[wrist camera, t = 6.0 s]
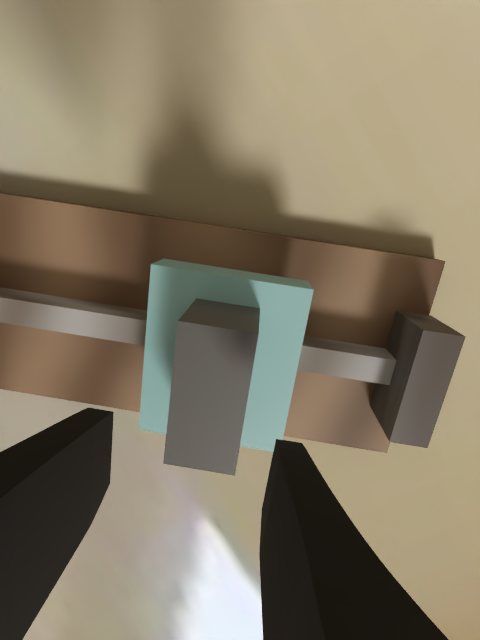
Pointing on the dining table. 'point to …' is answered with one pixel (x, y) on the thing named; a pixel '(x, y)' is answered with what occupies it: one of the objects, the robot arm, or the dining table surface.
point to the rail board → (233, 253)
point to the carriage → (220, 360)
